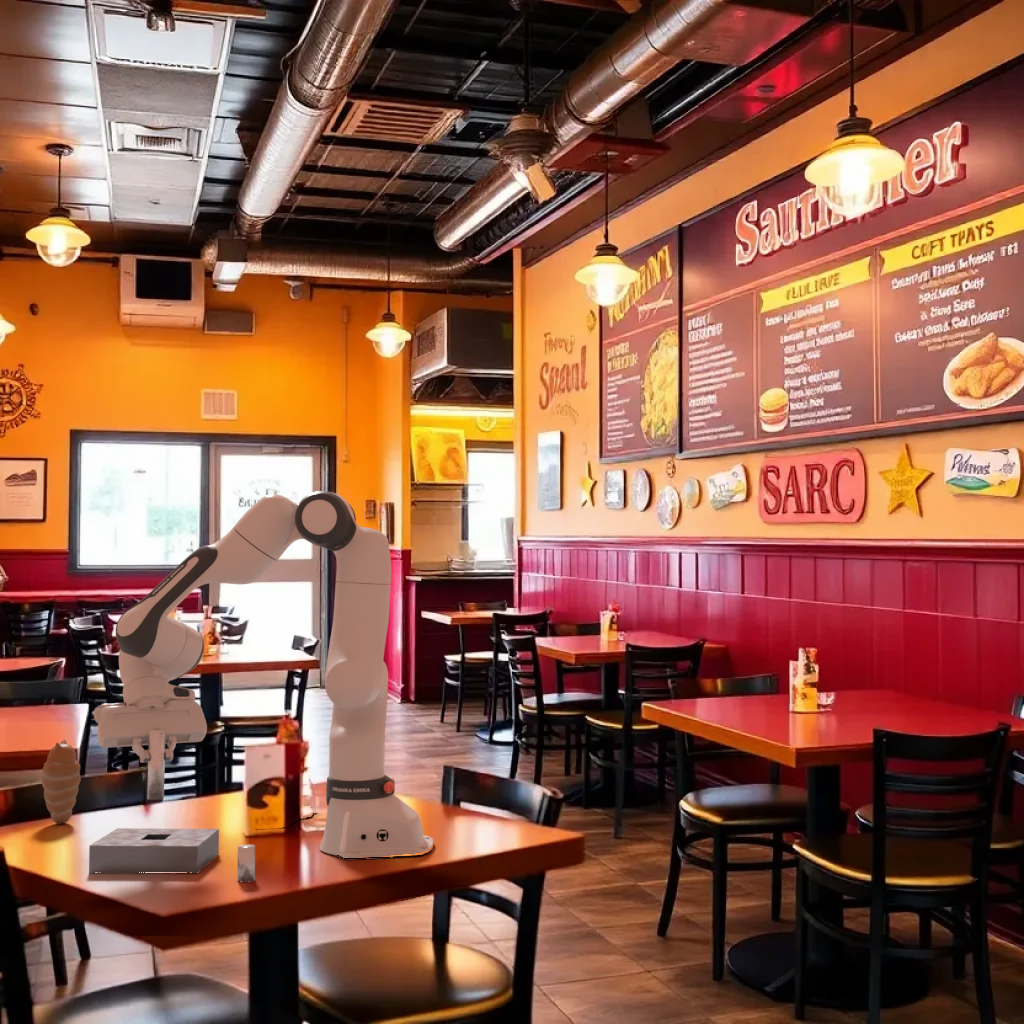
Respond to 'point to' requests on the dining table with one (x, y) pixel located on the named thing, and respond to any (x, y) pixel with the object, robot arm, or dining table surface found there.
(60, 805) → the cat ice cream
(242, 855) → the short pin
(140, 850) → the grey peg hole block
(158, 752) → the tall pin
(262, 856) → the dining table surface
